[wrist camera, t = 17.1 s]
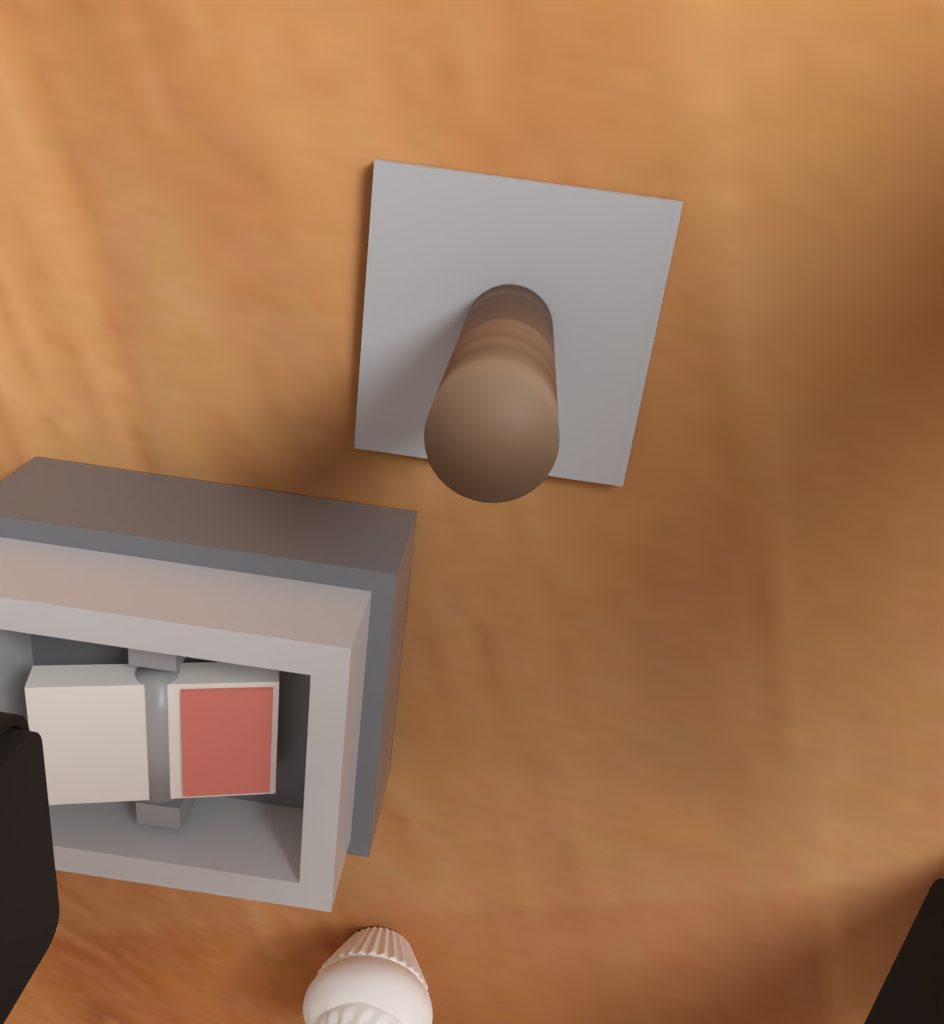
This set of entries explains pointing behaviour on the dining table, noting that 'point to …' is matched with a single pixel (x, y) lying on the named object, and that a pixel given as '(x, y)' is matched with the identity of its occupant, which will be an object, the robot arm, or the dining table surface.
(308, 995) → the muffin
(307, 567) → the grey switch housing
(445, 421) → the brown cylinder
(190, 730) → the rocker
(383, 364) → the mat
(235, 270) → the dining table surface
